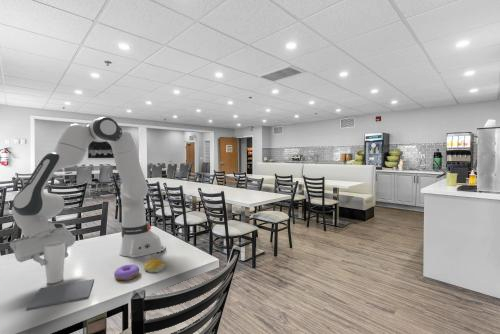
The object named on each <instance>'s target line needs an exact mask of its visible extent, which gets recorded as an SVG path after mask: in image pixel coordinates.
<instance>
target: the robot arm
mask: <svg viewBox="0 0 500 334" xmlns="http://www.w3.org/2000/svg"><path fill="white" fill-rule="evenodd" d="M105 142H107V143H108V144H109V145H110V146H111V151H112V155H113V158H114V163H115V167H116V171H117V174H118V175H119V179H120V182H121V184H120V186H119V187H120V200H121V201H120V203H121V209H122V214H121V216H122V218H121V219H122V225H121V231H120V232H121V235H120V236H121V245H120V250H119V253H118V254H119V255H120V256H122V257H130V258H132V259H133V258H139V257H144V256H150V255H153V254H157V252H159V253H161V251H163V250H164V249H165V250H166V245H165V244H164V243H163V242H161V238H160V236H159V235H158V234H157V233H155V232H153V230H151V229H152V227H151V225H150V224H149V223H146V207H145V201H144V199H145V197H146V196H147V195H148V194H149V187H148V183H147V180H146V178H145V175H144V172H143V169H142V167H141V163H140V159H139V155H138V151H137V146H136V143H135V140H134V138H133V135H132V134H131V133H130V132H129V131H128V130H123V129H122V128H121V126H119V123H117V121H116V120H115V119H113V118H111V117H108V116H101V117H98V118H95V119H93V120H91V122H89V123H87V124H86V125H83V124H80V123H71V124H69V125H68V126H67V127H66V128H65V130H64V131H63V133H62V134H61V136H60V138H59V139H58V142H57V144H56V145H55V147H54V148H53V150H52V151H51V152H50V153H46V154H45V155H44V156H43V157H42V159H41V160H40V161H39V163H38V164H37V166H36V167H35V169H34V170H33V172H32V174H31V175H30V177H29V178H28V180H27V182H25V185H24V186H23V187H22V189H20V191H19V192H18V193H16V194H15V196H14V197H13V200H12V207H11V215H12V218H13V220H14V221H15V224H16V225H17V227H19V228H20V229H21V234H22V235H23V236H22V237H20V238H15V239H13V240H12V241H11V242H10V243H9V246H10V248H11V250H13V254H14V257H15V259H16V261H17V262H19V263H23V262H26V261H27V262H28V261H29V260H33V261H34V262H36V263H39V264H40V267H43V266H45V265H46V264H47V263H48V262H47V261H46V259H44V258H42V256H44V245H45V244H48V243H51V242H58V241H62V242H65V258H68V257H69V252H68V248H70V247H72V246H73V245H74V244H75V243H76V237H75V236H74V235H73V233H72V232H71V231H70V230H69V229H68V228H66V225H65V223H53V222H49V220H51V219H53V218H55V217H56V216H58V215H60V214H61V213H62V212H63V211H64V209H65V206H66V201H65V198H64V197H63V196H62V195H59V194H57V193H52V192H45V191H44V190H45V188H46V186H47V185H48V184H49V181H50V180H51V179H52V177H53V175H54V174H55V173H56V172H57V171H59V170H62V169H67V168H69V169H70V168H74V167H76V166H78V165H80V164H81V162H82V161H83V160H84V158H85V156H86V153H87V151H88V148H89V146H90V145H91V143H96V144H97V143H105ZM52 246H58V245H56V244H48V245H47V246H46V247H52ZM165 250H164V251H165ZM164 251H163V252H164Z"/></svg>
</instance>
